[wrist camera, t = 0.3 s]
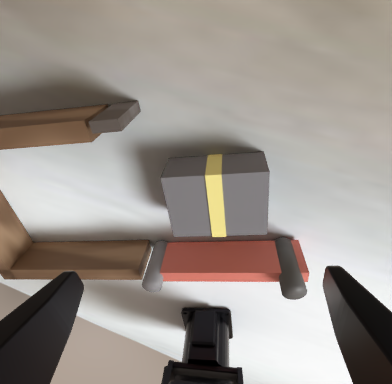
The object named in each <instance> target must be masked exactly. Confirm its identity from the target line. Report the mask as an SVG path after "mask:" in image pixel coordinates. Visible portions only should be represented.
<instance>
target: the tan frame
mask: <svg viewBox="0 0 392 384" xmlns="http://www.w3.org/2000/svg"><path fill="white" fill-rule="evenodd" d="M139 113H140V107H139V103H138V101H133V102H124V103H114V104H112V105H111V106H110V107H108V104H105V105H95V106H86V107H76V108H67V109H58V110H48V111H39V112H29V113H20V114H10V115H1V116H0V150H2V149H14V148H26V147H38V146H50V145H62V144H74V143H86V142H92V141H94V140H95V139H96V138H97V137H98V136H99V135H100V134H101V133H107V132H118V131H122V130H123V129H124V128H125V127H126V126H127V125H128V124H129V123H130V122H131V121H132V120H133V119H134V118H135V117H136V116H137V115H138V114H139ZM151 250H152V249H151V246H150V243H149V240H124V241H77V242H33V241H32V239H31V237H30V236H29V234H28V233H27V231H26V230H25V228H24V226H23V225H22V223H21V222H20V220H19V219H18V217H17V215H16V214H15V212H14V211H13V209H12V208H11V206H10V204H9V203H8V201H7V200H6V198H5V197H4V195H3V194H2V192H1V190H0V274H1V275H2V277H3V278H4V279H55V278H56V277H57V276H58V275H60V274H61V273H62V272H64V271H75V272H77V274H78V276H79V277H80V279H104V280H142V278H143V275H144V271H145V268H146V265H147V262H148V259H149V256H150V253H151Z"/></svg>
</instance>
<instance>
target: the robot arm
mask: <svg viewBox="0 0 392 384" xmlns="http://www.w3.org/2000/svg"><path fill="white" fill-rule="evenodd" d="M323 289H324V293H325V297H326V301H327V305H328V309H329V313H330V317H331V321H332V325H333V328H334V332H335V336H336V339H337V342H338V345H339V347H340V350H341V353H342V355H343V358H344V361H345V363H346V366H347V369H348V371H349V374H350V377H351V379H352V382H353V384H392V312H391V311H390V310H389V309H388V308H387V307H385V306H384V305H383V304H382V303H381V302H380V301H379V300H378V299H377V298H375V297H374V296H373V295H372V294H371V293H370V292H369V291H368V290H367V289H365V288H364V287H363V286H362V285H361V284H360V283H359V282H358V281H357V280H355V279H354V278H353V277H352V276H351V275H350V274H349V273H348V272H347V271H345V270H344V269H343V268H342V267H340V266H327V267H326V269H325V273H324V279H323ZM83 290H84V285H83V283H82V281H81V279H80V277H79V276H78V274H77V272H75V271H64V272H62V273H61V274H60V275H58V276H57V277H56V278H55V279H53V280H52V281H51V282H49V283H48V284H47V285H46V286H44V287H43V288H42V289H40V290H39V291H38V292H37V293H35V294H34V295H33V296H31V297H30V298H29V299H28V300H26V301H25V302H24V303H22V304H21V305H20V306H19V307H17V308H16V309H15V310H14V311H12V312H11V313H10V314H8V315H7V316H6V317H4V318H3V319H2V320H1V321H0V384H50V382H51V379H52V377H53V375H54V372H55V370H56V367H57V365H58V362H59V360H60V357H61V355H62V352H63V350H64V347H65V345H66V343H67V340H68V338H69V335H70V333H71V330H72V327H73V324H74V320H75V317H76V314H77V311H78V307H79V304H80V301H81V297H82V294H83ZM181 314H182V317H183V321H184V325H185V329H186V335H185V343H184V351H183V358H182V362H174V361H171V360H169V362H168V366H166V367H164V373H163V379H162V383H161V384H243V374H242V368H241V367H237V368H232V367H229V339H231V338H232V337H233V333H232V321H231V311H230V310H229V309H194V308H184V309H182V312H181Z"/></svg>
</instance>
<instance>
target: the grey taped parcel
mask: <svg viewBox="0 0 392 384" xmlns="http://www.w3.org/2000/svg"><path fill="white" fill-rule="evenodd" d="M269 173H270V172H269V168H268V165H267V161H266V158H265V154H264V152H252V153H237V154H223V155H222V154H215V155H208V156H194V157H180V158H169V159H168V161H167V164H166V166H165V168H164V171H163V173H162V176H161V183H162V187H163V191H164V196H165V200H166V205H167V209H168V213H169V218H170V222H171V227H172V231H173V235H174V237H186V236H212V237H226V236H231V235H267V225H268V199H269Z"/></svg>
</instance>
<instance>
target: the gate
mask: <svg viewBox="0 0 392 384" xmlns="http://www.w3.org/2000/svg"><path fill="white" fill-rule="evenodd" d="M308 277H309V271H308V268H307V265H306V262H305V259H304V256H303V253H302V250H301V247H300V244H299V241H298V240H290V239H288V238H285V237H281V238H278V239H276V240H274V241H223V242H172V243H168V242H166V241H157V242H156V243H155V245H154V248H153V251H152V254H151V258H150V261H149V264H148V267H147V270H146V273H145V276H144V279H143V282H142V287H143V288H144V289H145V290H147V291H149V292H158V291H160V290H161V287H162V283H163V281H228V282H280V286H281V291H282V295H283V296H284V297H285V298H287V299H300V298H302V297H304V296H305V295H306V294H307V289H306V286H305V283H304V282H308Z"/></svg>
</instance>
